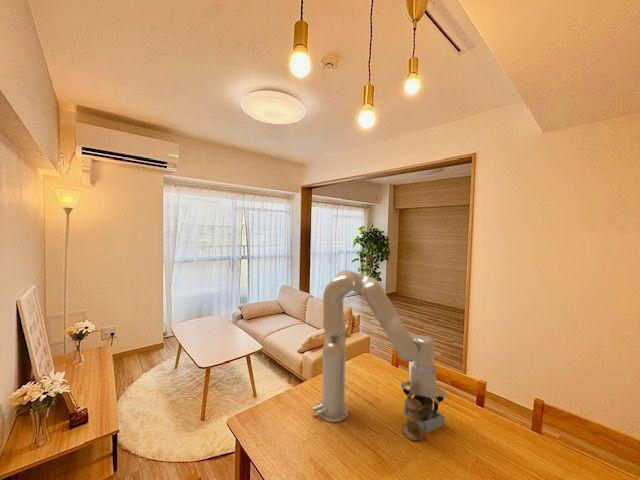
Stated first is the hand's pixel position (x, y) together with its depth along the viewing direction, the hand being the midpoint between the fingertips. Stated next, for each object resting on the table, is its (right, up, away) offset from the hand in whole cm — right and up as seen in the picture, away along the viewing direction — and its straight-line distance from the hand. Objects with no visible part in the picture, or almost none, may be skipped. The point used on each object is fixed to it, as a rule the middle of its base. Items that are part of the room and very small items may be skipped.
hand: (422, 408), depth 106 cm
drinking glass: (+4, -5, +19) cm, 20 cm away
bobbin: (-7, -5, -7) cm, 11 cm away
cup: (0, -4, 0) cm, 4 cm away
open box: (+1, -5, 0) cm, 5 cm away
